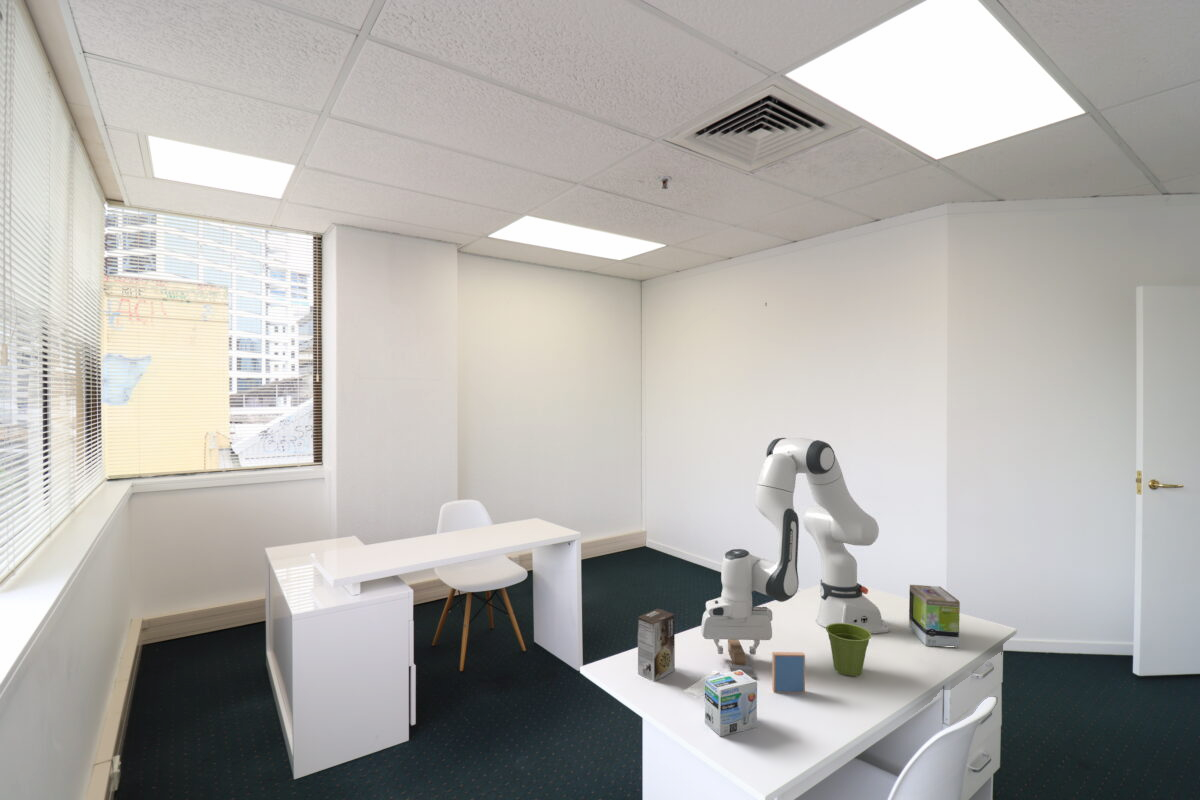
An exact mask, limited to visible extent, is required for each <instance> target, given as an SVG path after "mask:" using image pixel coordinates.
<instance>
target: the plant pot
mask: <svg viewBox="0 0 1200 800" xmlns="http://www.w3.org/2000/svg"><path fill="white" fill-rule="evenodd" d="M825 631H826V633H828V635H827V636H828V640H829V642H830V643H829V644H830V650H831V657H832V663H833V667H834V671H835V672H837V673H838V674H841V675H844V676H851V677H858V676H861V675H862V673H863V669H864V662H865V658H866V652H867V647H868V646H869V642H870V639H871V638H872V636H873V634H872V633H870V632H869V631H868V630H866V629H864V628H862V627H860V626H857V625H853V624H847V623H833V624H830V625H828V626H827V627H825Z"/></svg>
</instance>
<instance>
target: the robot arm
mask: <svg viewBox="0 0 1200 800" xmlns="http://www.w3.org/2000/svg"><path fill="white" fill-rule="evenodd" d="M798 474H805V477H806V479H807V482H808V486H809V489H810V491H811V495H812V498H813V500H814V502H815V503H816V504H817V505H814V506H810V507H808V508H807V510H806V511H805V512H804V514H803V518H802V520H803V525H804V526H803V527H804V529H805V531H806V532H808V534H809V535H810V536H811V537H812V539H813V540H814V542H815V544H816V546H817V549H818V552H819V555H820V559H821V579H820V585H819V593H820V605H819V610H818V614H817V618H816V623H817V624H818V625H820V626H822V627H823V628H826V627H827V626H828V625H830V624H833V623H847V624H853V625H857V626H860V627H862V628H864V629H866V630H868V631H869V632H870V633H871V634H882V633H889V632H890V625H889V624H888V623H887V621H885V620H884V619H883V618H882V613H881V611H880V609H879V607H878V606H877V605H876V604H875V603H874V602H873V601H871V600H870V599H869V598H867V596H865V595H867V594H868V593H869V589H868V588H867V587H866V586H865V585H862V584H860V583H858V562H857V560H856V557H854V556H853V555H852V554H851V553H850V552H849V551H848V549H847V547H846V546H845V544H847V545H851V546H857V547H859V546H860V547H861V546H863V547H865V546H866V547H869V546H872V545H873V544H874V543H875V542H876V540H877V539H878V537H879V533H880V528H879V525H878V522H877V519H875V518H874V517H873V516H872V515H870V514H868V513H867V512H866V511H865V510H863V508H861V506H860V505H859V504H858V503H857V502H856V501H855V499H854V498H853V497H852V495H851V493H850V491H849V489H848V487H847V485H846V481H845V477H844V475H843V472H842V467H841V466H840V463H839V461H838V459H837V456H836V454H835V451H834V449H833V448H832V446H831V445H830V444H829V443H828V442H826V441H823V440H819V439H816V440H815V439H809V438H804V437H798V438H797V437H796V438H795V437H793V438H791V437H789V438H787V437H780V438H779V437H778V438H775V439H773V440H772V441H771V442H770V443H769V444H768V447H767V448H766V458H765V460H764V462H763V465H762V467H761V470H760V473H759V476H758V478H757V479H758V480H757V485H756V488H755V493H754V504H755V506H756V508H757V510H758V511H759V513H760V514H761V515H762V516H763V517H764V518H765V519H767V520H768V521H770V523H772V525H774V528H775V529H776V531H777V534H778V539H777V540H778V541H777V557H776V558H777V559H776V562H774V561H770V560H768V559H765V558H761V557H758V556H755V555H753V554H751V553H750V551H748V550H746V549H744V548H736V549H735V548H734V549H733V548H732V549H730V550H728V551H725V553H724V554H723V558H722V561H721V562H722V564H721V571H720V572H721V573H720V574H721V576H720V579H721V584H722V590H721V595H720V596H719V597H717V598H714V599H710V600H707V601H705V611H704V612H703V614H702V620H701V630H700V631H701V635H702V637H703V638H704V639H705V640H713V643H714V644H715V646H716V652H717V654H719V655H724V647H723V646H722V645H720V644H719V643H720V640H728V639H730V640H739V641H746V640H747V641H753V644H752V645H751V646H749V651H748V652H749V654H750V655H756V654H757V648H758V647H759V645H760V643H761V642H760V641H770V640H771V639H772V638H773V628H772V620H773V611H772V609H770V608H768V606H753V594H752V592H754V591H756V592H757V593H760V594H763V595H765V596H768V597H769V598H771V599H773V600H775V601H776V602H780V603H784V602H786V601H788V600H790V599H792V598H793V597H794V596H795V595H796V594H797V593H798V590H799V583H800V582H799V574H798V573H799V572H798V560H799V559H798V558H799V557H798V556H799V555H798V554H799V553H798V552H799V531H800V529H799V528H800V527H799V526H800V521H799V517H798V516H799V515H798V514H797V512H796V511H795V507H794V493H795V490H796V489H795V488H796V481H797V475H798Z"/></svg>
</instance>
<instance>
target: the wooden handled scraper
mask: <svg viewBox="0 0 1200 800" xmlns="http://www.w3.org/2000/svg"><path fill="white" fill-rule="evenodd" d="M727 641H728V642H727V652H729V653H728V655H729V657H730V659H732V660H731V662H732V664H728V667H730V668H729V670H730V672H733V671H737V670H741V671H743V672H744V673H745V674H747V675H748V676H750V677H751V678H752V679H756V680H757V676H756V674H755V671H754V670H753V667H752V666H751V664H746V653H745V651H744V648H743V646H742V644H741V642H740V640H730V639H727Z"/></svg>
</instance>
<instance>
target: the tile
mask: <svg viewBox="0 0 1200 800" xmlns="http://www.w3.org/2000/svg"><path fill="white" fill-rule="evenodd" d="M771 657H772V658H771V660H772V661H771V662H772V664H771V665H772V668H771V669H772V670H771V671H772V673H771V675H772V676H771V677H772V681H771V682H772V683H771V685H772V687H771V688H772V692H773V694H774V693H775V692H777V693H778V692H779V693H778V694H805V693H806V654H805V653H804V652H801V651H799V652H798V651H797V652H796V651H792V652H791V651H772V656H771ZM788 692H789V693H788ZM777 693H775V694H777Z"/></svg>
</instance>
